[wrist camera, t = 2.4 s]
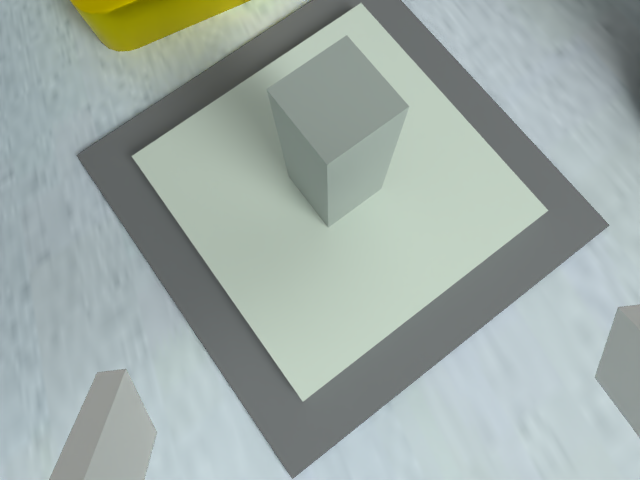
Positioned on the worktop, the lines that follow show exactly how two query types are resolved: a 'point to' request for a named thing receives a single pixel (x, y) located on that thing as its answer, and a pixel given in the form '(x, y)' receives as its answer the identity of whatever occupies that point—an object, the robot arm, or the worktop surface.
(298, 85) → the sage lid
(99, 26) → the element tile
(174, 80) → the worktop surface
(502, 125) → the rubber mat
